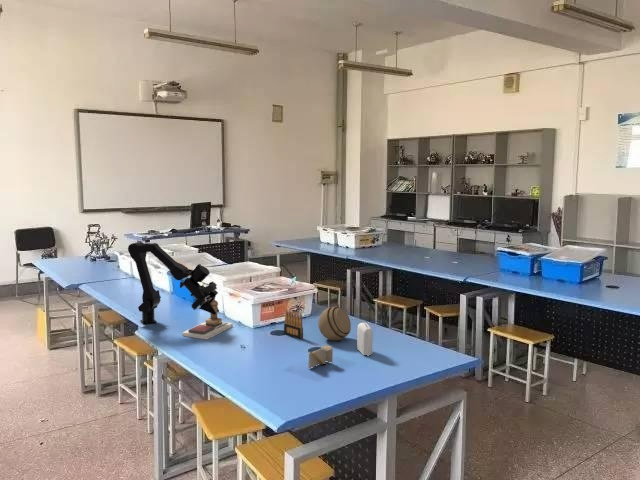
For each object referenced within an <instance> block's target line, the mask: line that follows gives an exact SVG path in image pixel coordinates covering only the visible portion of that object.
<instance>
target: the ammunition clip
mask: <svg viewBox="0 0 640 480" xmlns="http://www.w3.org/2000/svg"><path fill="white" fill-rule="evenodd" d="M284 315H285V316H284V323H283V335H285V336H288V337H291V338H295V339H298V340H303V339H304V327H303V315H302V312H299V311H297V312H296V310H293V309H292V310H291V309H290V308H289V309H288V308H286V309H285V313H284Z"/></svg>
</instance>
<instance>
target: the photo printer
mask: <svg viewBox="0 0 640 480" xmlns="http://www.w3.org/2000/svg"><path fill="white" fill-rule="evenodd" d="M356 327H357V330H356V332H357V335H356V338H357V339H356V349H357V351H358V350H359V351H360V352H361V353H362V354H361V353H360V352H359V351H358V352H359V353H360V354H361V355H363V356H364V355H371V354H372V355H373V341H374V339H373V338H374V337H373V336H374V334H373V333H374V332H373V329H372V327H371V326H370V325H369V324H368V323H367V322H360V323H359V324H358V325H357V326H356ZM372 355H371V356H372Z"/></svg>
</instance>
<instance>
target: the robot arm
mask: <svg viewBox="0 0 640 480" xmlns="http://www.w3.org/2000/svg"><path fill="white" fill-rule="evenodd" d="M127 252H128V253H129V256H130V258H131V259H132V260H133V262H134V263H135V266H136V269H137V273H138V277H139V280H140V283H141V286H142V287H141V288H142V297H141V298H142V303H140V305H139V306H138V307H137V309H138V312H141V318H142V319H140V320H139V321H140V322H141V324H142V325H148V324H156V323H158V321H157V320H156V318H155V310H156V308H158V305H159V304H160V303H161V298H162V296H161V293H160V290H159V289H158V290H156V289H155V288H154V286H153V281H152V277H151V275H150V271H149V266H148V263H147V260H146V259H147V253H151V254H152V255H153V256H154V257H155V258H156V259H157V260H159V262H161V263H162V264H163V265H164V266H165V267H166V268H167V269H168V271H169V273H170V275H171V276H172V277H173V278H174V280H176V281H180V282H179V288H180V289H183V288H186V290H187V291H188V292H189V293H190V296H191V297H194V299H195V300H194V302H193V303H192V304H191V308H192V309H193V310H194V311H195V310H197V309H198V310H202V311H205V312H208V313H210V314H211V313H212V314H214V315H215V314H216V312H215V310H214V309H213V307H212V306H211V305H210V303H211V301H212V300H216V296H217V295H218V294H219V292H218V291H217V289H218V288H217V283H216V282H214V281H210V282H209V283H208V285H206V286H204V284H202V285H201V284H200V283H202V282H203V281H204V280H206V278H207V277H208V276H209V275H210V271H209V269H208V268H207V267H206V266H204V265H201V264H200V263H198V264H197V265H196V266H195V267H194V269H189V267H187V266H186V265H184V264H182V263H180V262H178V261H176V260H175V259H174V258H173V257H171V255H169V254H168V253H167V252H166V251H165V250H164V249H163V248H161V246H159V244H158V243H157V242H151V243H150V242H149V243H148V242H147V243H144V242H143V241H137V242H133V243H130V244H129V246H128V247H127ZM219 312H220V309H219V308H218V313H219Z"/></svg>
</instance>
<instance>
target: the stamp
mask: <svg viewBox="0 0 640 480" xmlns="http://www.w3.org/2000/svg"><path fill="white" fill-rule="evenodd" d="M210 305H211V306H212V307H213V309H214V310H215V312H216V314H215V315H214V314H212V313H210V317H209V318H207V319H205V322H206V325H208V326H213V327H217V326H219V325H221V324H222V322H223V318H222V317H221V318H220V317H218V313H219V312H218V309H219V308H218V305H219V302H218V300H216V299H215V300H212V301H211V303H210Z"/></svg>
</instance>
